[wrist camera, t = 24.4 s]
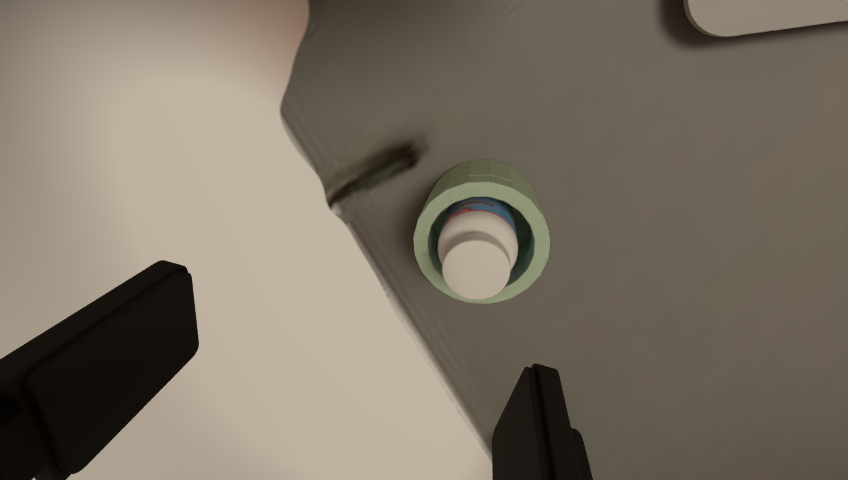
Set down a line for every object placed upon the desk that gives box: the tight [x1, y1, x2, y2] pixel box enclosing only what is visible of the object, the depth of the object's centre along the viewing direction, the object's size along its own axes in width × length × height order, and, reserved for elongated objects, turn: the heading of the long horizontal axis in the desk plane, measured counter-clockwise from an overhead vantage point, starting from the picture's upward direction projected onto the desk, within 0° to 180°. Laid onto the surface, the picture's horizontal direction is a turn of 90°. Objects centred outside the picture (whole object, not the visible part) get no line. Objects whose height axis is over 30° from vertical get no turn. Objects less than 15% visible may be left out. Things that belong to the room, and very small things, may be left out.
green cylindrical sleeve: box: [413, 160, 550, 304], centre depth 32 cm, size 10×10×8 cm
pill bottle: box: [438, 197, 518, 299], centre depth 30 cm, size 6×6×11 cm
